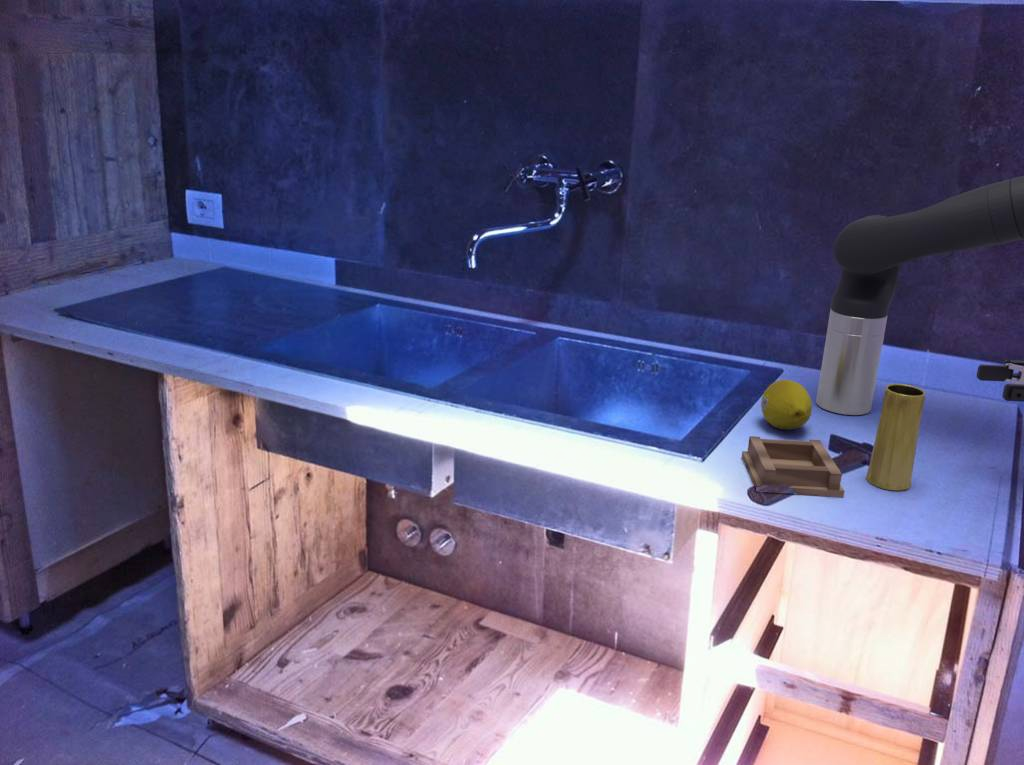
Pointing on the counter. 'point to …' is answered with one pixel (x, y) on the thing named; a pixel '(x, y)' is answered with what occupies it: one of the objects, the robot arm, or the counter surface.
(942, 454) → the counter surface
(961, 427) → the counter surface
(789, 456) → the socket block
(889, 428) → the vase
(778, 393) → the lemon
